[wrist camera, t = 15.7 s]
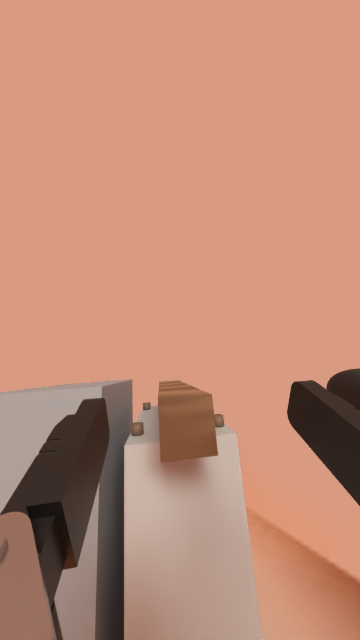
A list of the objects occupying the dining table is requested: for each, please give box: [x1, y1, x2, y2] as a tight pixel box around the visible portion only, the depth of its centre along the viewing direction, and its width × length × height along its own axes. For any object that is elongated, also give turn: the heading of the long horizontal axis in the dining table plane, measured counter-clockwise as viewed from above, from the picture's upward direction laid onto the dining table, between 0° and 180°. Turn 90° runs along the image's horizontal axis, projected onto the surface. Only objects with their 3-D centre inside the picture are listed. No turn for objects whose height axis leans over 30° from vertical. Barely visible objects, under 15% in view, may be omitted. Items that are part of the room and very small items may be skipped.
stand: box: [0, 380, 263, 640], centre depth 23 cm, size 20×24×34 cm
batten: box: [158, 381, 218, 463], centre depth 27 cm, size 28×4×4 cm, turn 6°
